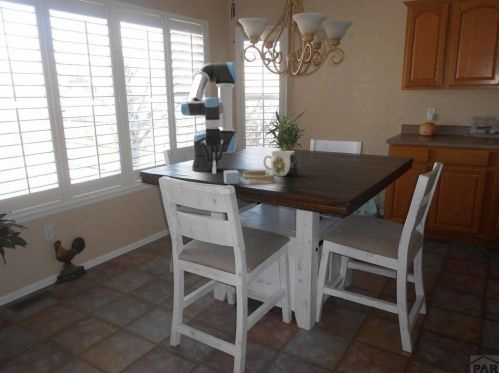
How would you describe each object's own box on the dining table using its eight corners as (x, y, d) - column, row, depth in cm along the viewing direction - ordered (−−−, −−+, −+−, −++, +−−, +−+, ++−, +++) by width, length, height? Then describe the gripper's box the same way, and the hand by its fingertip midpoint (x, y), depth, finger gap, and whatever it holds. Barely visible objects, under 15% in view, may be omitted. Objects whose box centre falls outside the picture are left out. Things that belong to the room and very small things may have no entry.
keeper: (224, 181, 214) (223, 170, 213) (236, 180, 216) (236, 169, 215) (226, 184, 208) (225, 173, 206) (239, 183, 209) (239, 172, 208)
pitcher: (265, 172, 237) (265, 149, 234) (295, 173, 233) (295, 150, 229) (261, 176, 226) (261, 152, 223) (293, 177, 222) (293, 152, 219)
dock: (243, 178, 221) (243, 171, 220) (266, 177, 224) (266, 170, 223) (249, 184, 206) (249, 176, 205) (274, 182, 209) (274, 175, 208)
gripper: (200, 128, 198) (202, 175, 203) (226, 128, 201) (227, 173, 206) (199, 127, 205) (201, 172, 210) (224, 127, 208) (225, 171, 213)
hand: (214, 173), depth 208 cm, fingers closed
